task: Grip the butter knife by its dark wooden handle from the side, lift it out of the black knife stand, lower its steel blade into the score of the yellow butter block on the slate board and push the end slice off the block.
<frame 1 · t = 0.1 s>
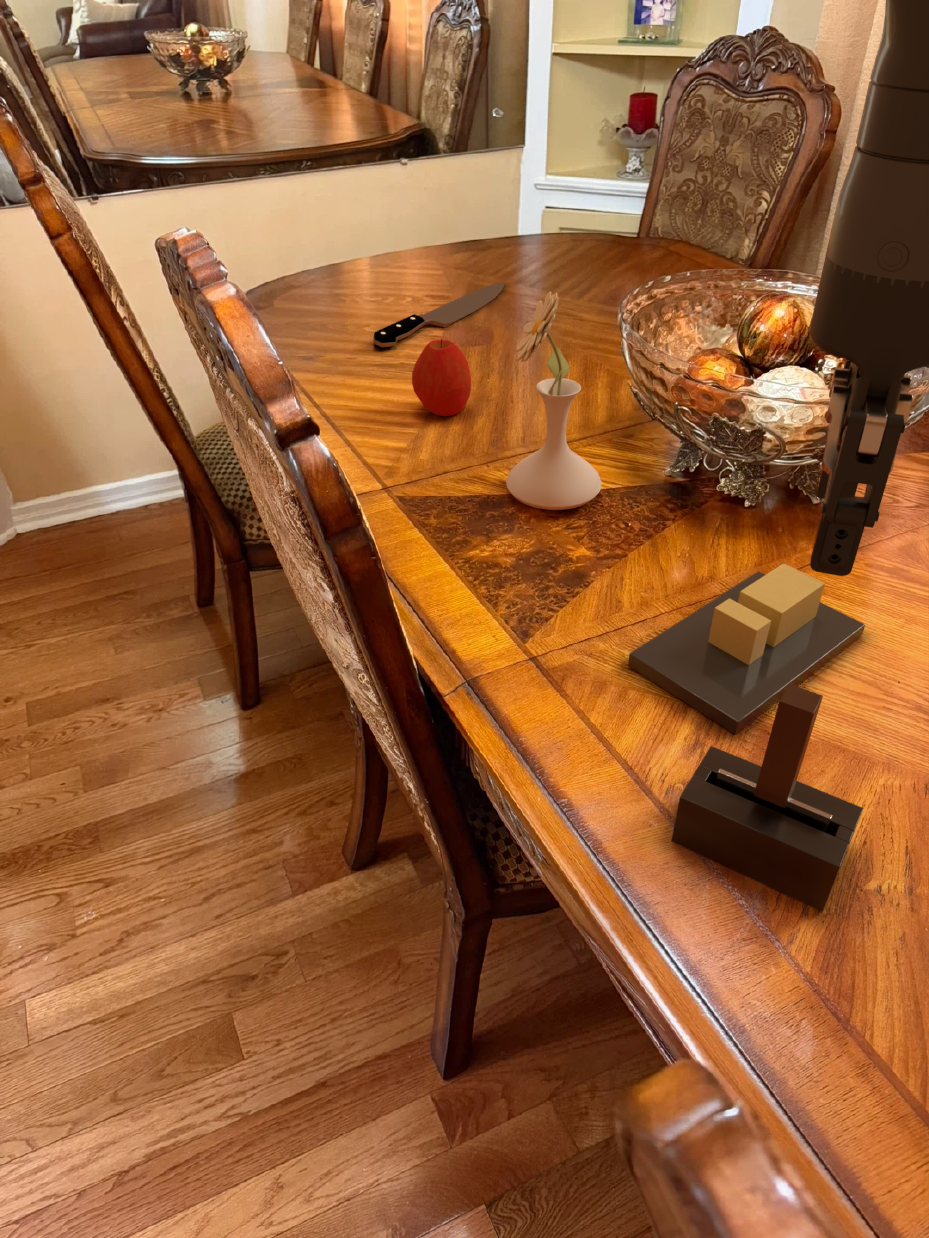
hand: (831, 533, 54), 25 cm above the table, tool pointing down, fingers open, 8 cm apart
board: (746, 650, 84), on the table
flower in vase: (550, 499, 107), on the table
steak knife: (444, 316, 159), on the table
knife: (777, 778, 61), in the knife stand
butter block: (774, 621, 85), point 1 cm above the table, touching board
apple: (443, 413, 127), on the table
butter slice: (735, 648, 82), point 1 cm above the table, touching board
knife stand: (757, 846, 66), on the table
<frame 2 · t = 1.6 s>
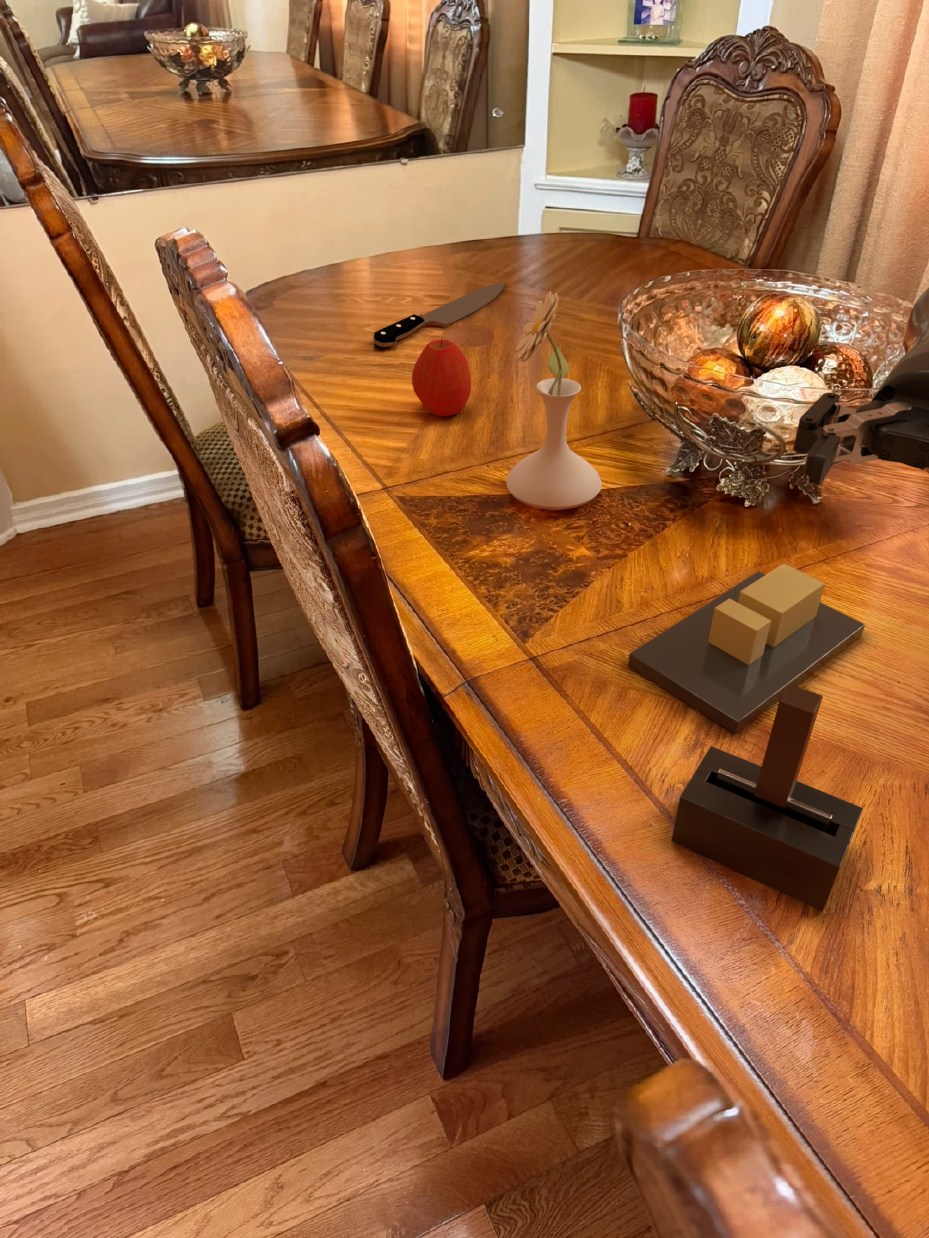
hand: (883, 489, 57), 25 cm above the table, tool horizontal, fingers open, 8 cm apart
nothing on the table moved.
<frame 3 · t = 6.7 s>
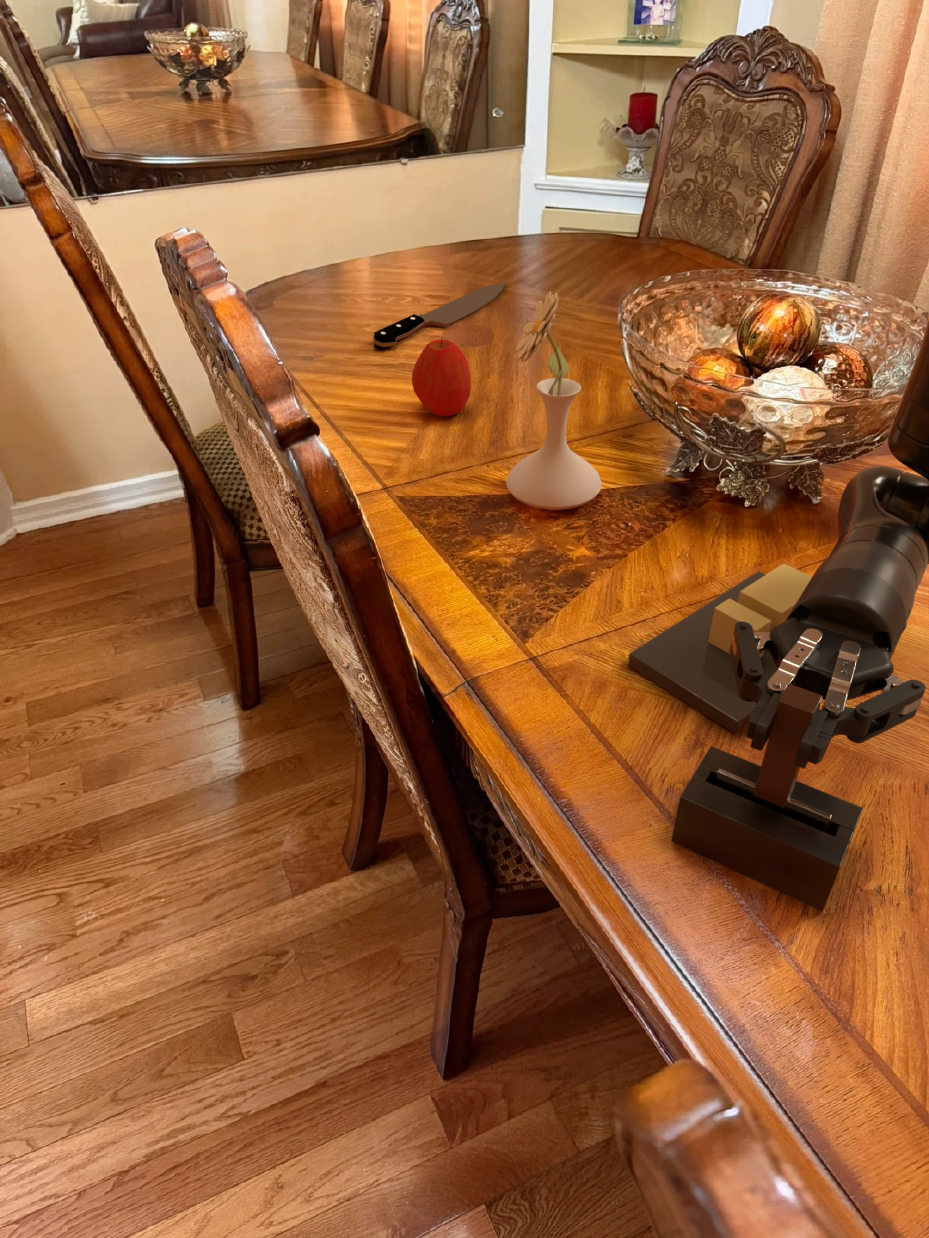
hand: (780, 748, 56), 13 cm above the table, tool horizontal, fingers closed on knife, 2 cm apart
knife: (777, 778, 61), in the knife stand, touching gripper
everything else where it was.
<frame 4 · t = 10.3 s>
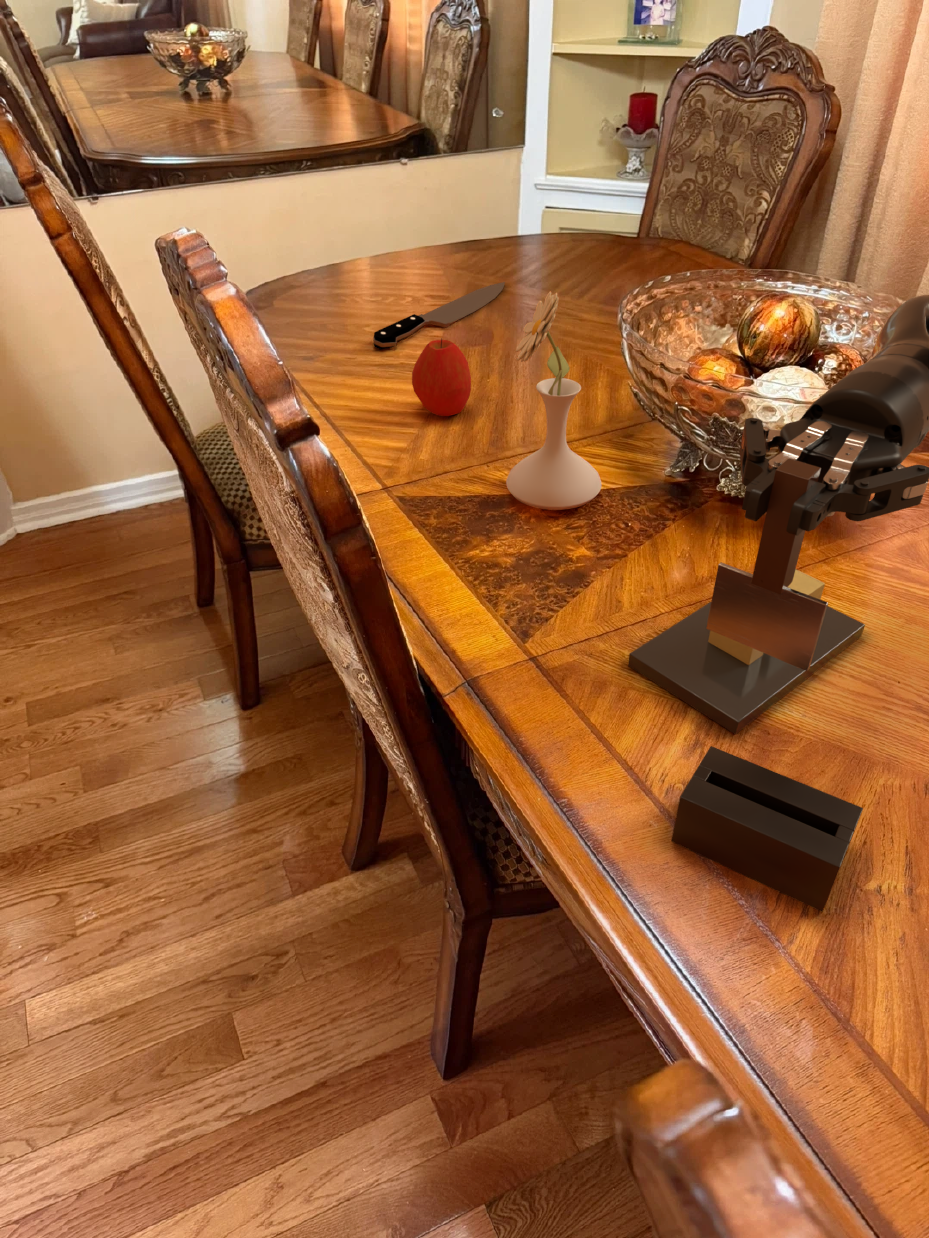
hand: (773, 514, 56), 25 cm above the table, tool horizontal, fingers closed on knife
knife: (775, 565, 62), point 19 cm above the table, touching gripper
everything else where it was.
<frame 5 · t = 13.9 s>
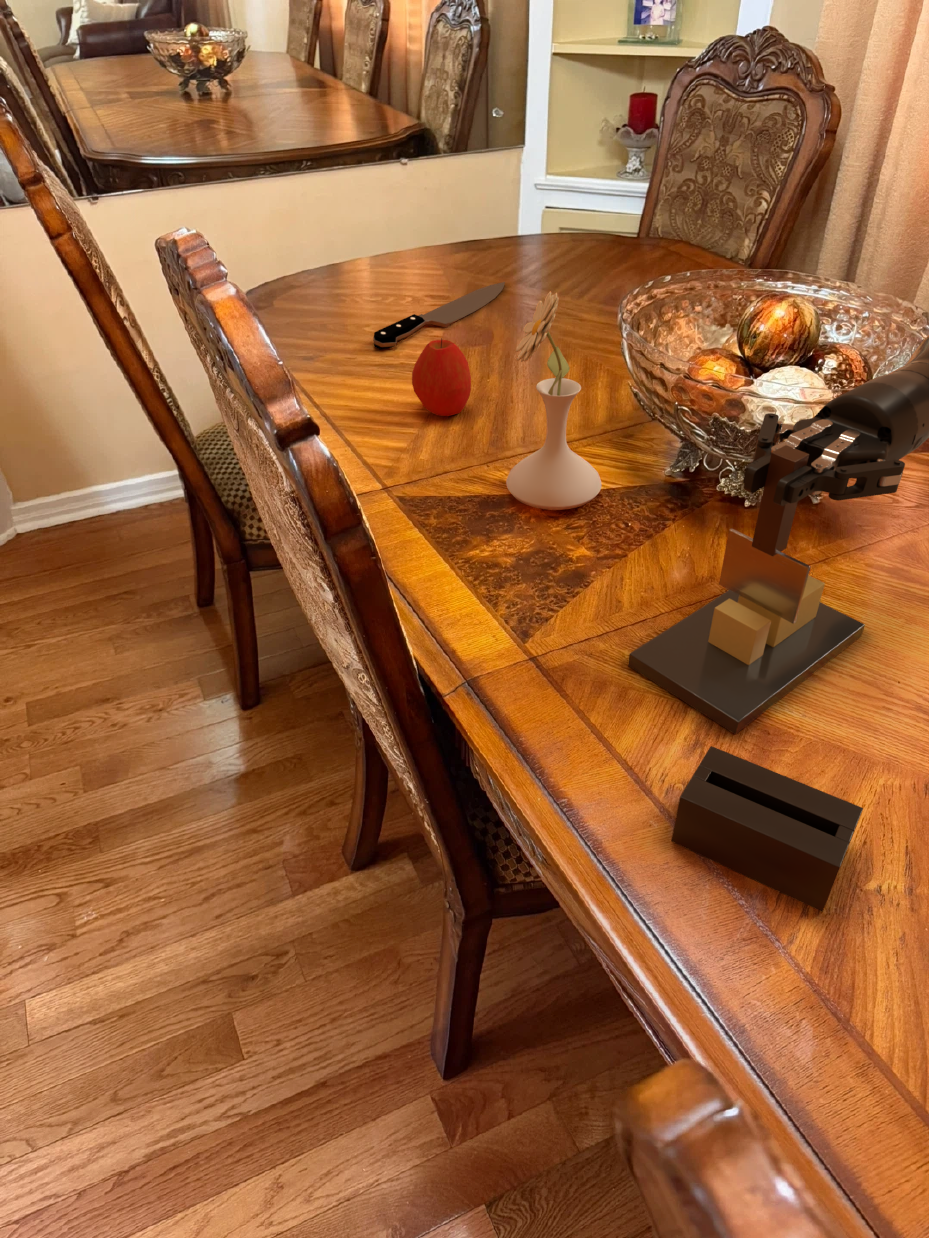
hand: (764, 487, 71), 19 cm above the table, tool horizontal, fingers closed on knife
knife: (772, 532, 76), point 13 cm above the table, touching gripper
everything else where it was.
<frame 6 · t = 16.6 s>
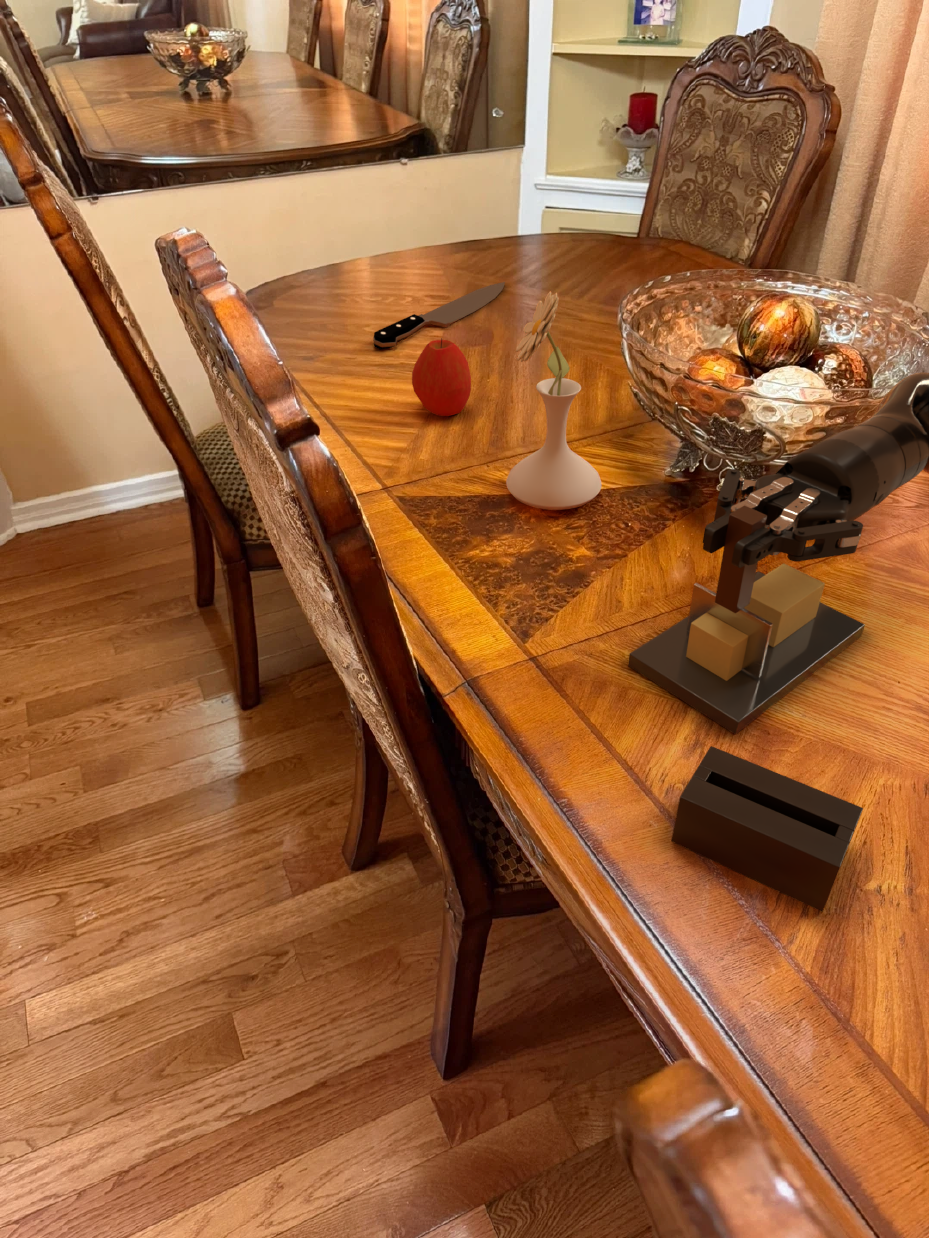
hand: (722, 549, 71), 15 cm above the table, tool horizontal, fingers closed on knife, 2 cm apart
knife: (734, 589, 76), point 9 cm above the table, touching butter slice, gripper
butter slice: (713, 663, 80), point 2 cm above the table, touching board, knife
everything else where it was.
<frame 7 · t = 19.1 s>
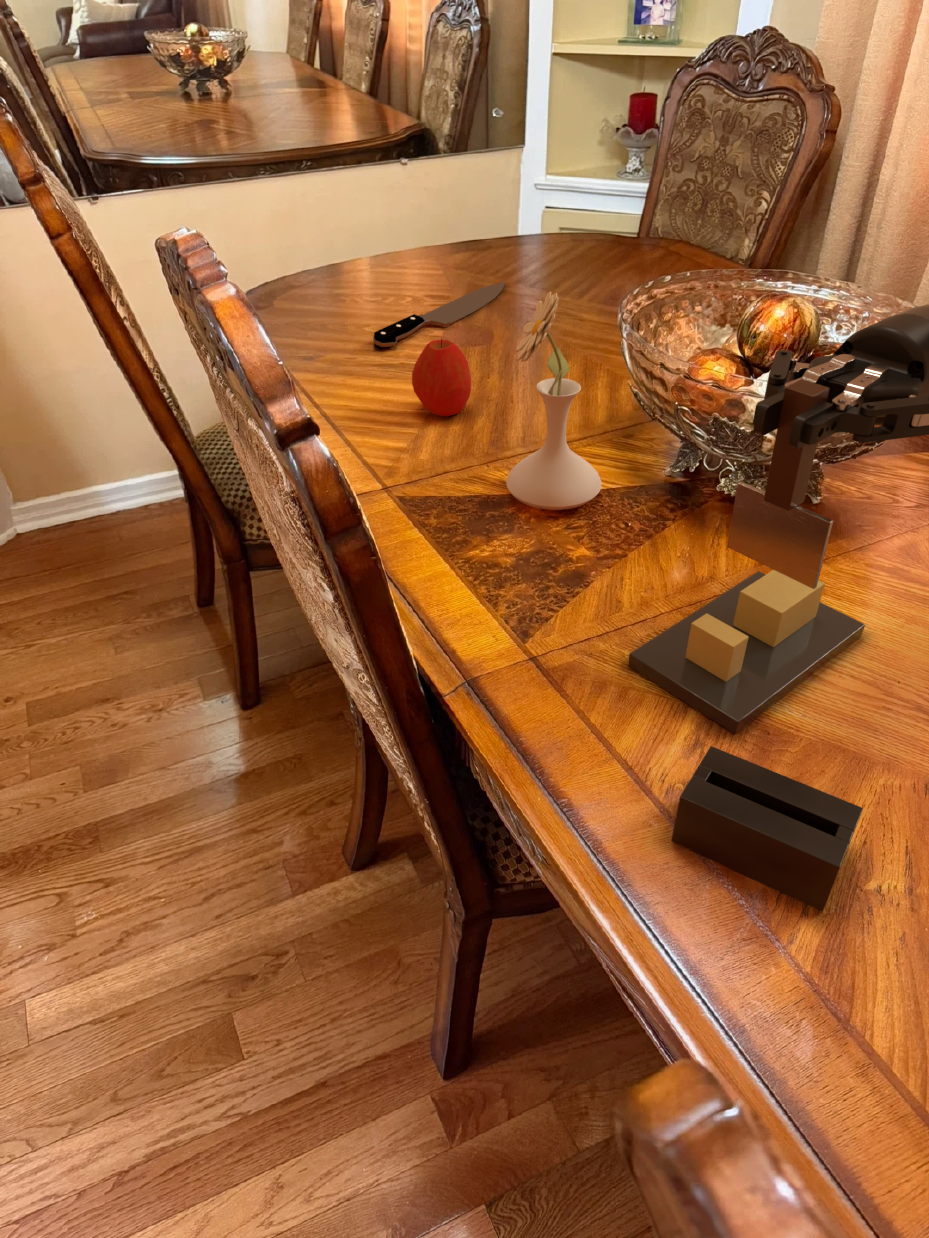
hand: (778, 427, 61), 27 cm above the table, tool horizontal, fingers closed on knife
knife: (787, 483, 65), point 22 cm above the table, touching gripper
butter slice: (712, 664, 80), point 1 cm above the table, touching board
everything else where it was.
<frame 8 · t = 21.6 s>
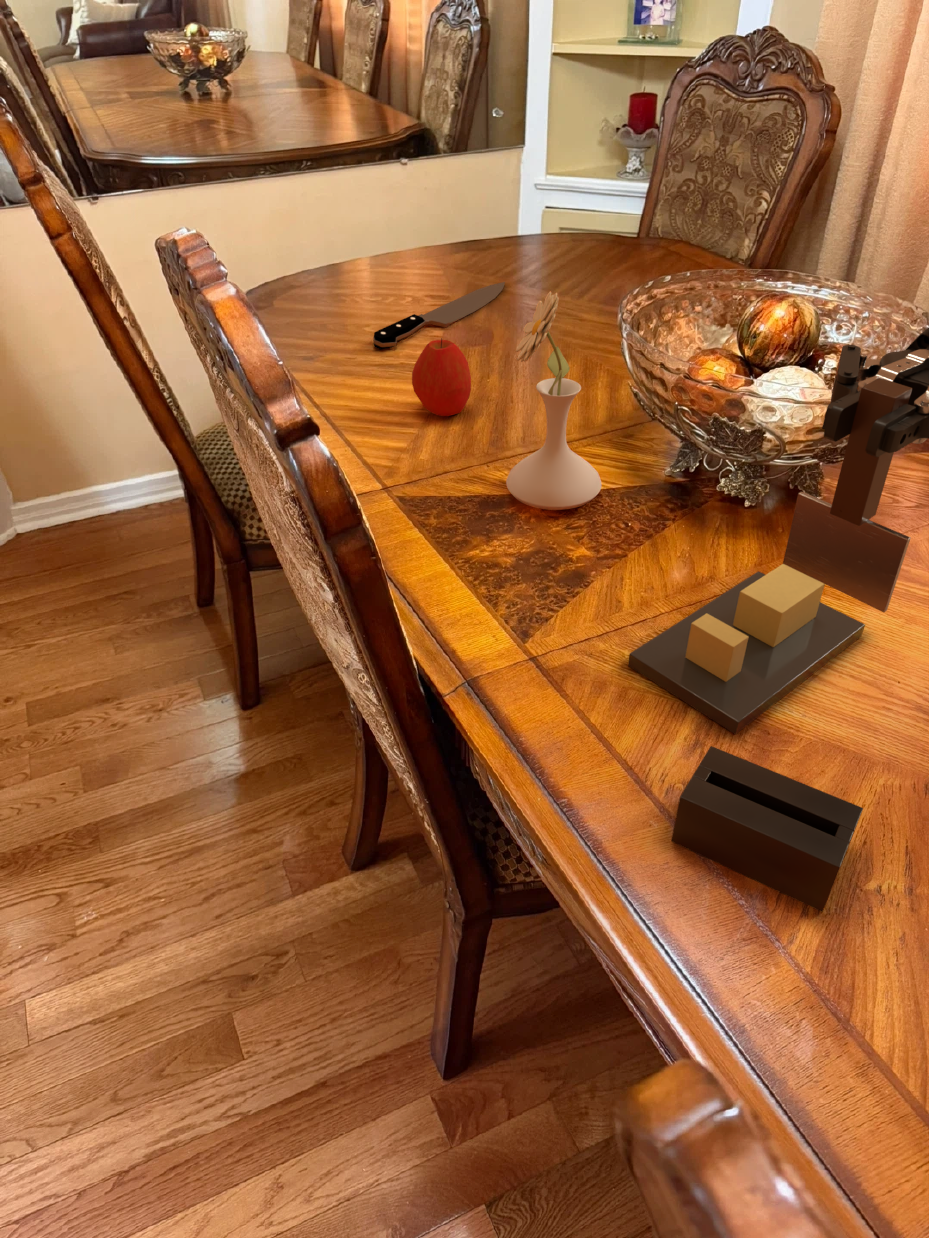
hand: (853, 432, 53), 30 cm above the table, tool horizontal, fingers closed on knife
knife: (857, 495, 58), point 24 cm above the table, touching gripper
everything else where it was.
at the end: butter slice 1.5 cm from the target spot on the board, point 1.5 cm above the board's base; butter block moved 0.0 cm from its start; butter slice tilted 0° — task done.
